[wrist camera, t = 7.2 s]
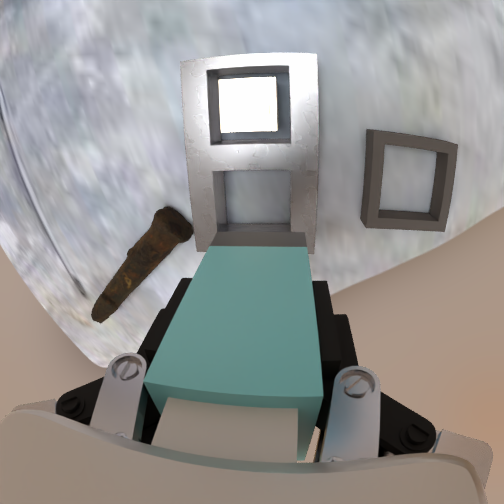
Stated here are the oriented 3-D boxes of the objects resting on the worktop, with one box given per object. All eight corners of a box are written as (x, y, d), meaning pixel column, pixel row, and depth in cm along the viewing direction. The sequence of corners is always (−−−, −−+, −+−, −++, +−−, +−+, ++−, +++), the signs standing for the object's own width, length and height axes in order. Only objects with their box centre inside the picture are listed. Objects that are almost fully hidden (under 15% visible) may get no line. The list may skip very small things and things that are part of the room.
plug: (304, 232, 13) (326, 458, 4) (301, 303, 15) (303, 500, 6) (217, 231, 13) (120, 433, 4) (224, 301, 15) (171, 486, 6)
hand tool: (170, 198, 27) (151, 215, 23) (198, 227, 28) (183, 248, 24) (91, 290, 35) (74, 311, 31) (112, 310, 36) (97, 332, 32)
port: (312, 62, 20) (318, 50, 15) (310, 234, 27) (315, 261, 23) (195, 68, 21) (174, 59, 16) (208, 232, 28) (192, 258, 24)
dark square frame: (446, 141, 21) (457, 144, 19) (435, 223, 25) (444, 231, 23) (366, 129, 22) (373, 130, 20) (360, 218, 26) (366, 227, 24)
